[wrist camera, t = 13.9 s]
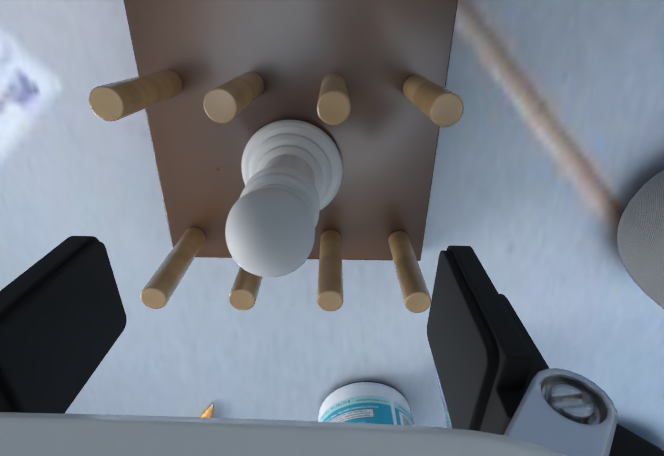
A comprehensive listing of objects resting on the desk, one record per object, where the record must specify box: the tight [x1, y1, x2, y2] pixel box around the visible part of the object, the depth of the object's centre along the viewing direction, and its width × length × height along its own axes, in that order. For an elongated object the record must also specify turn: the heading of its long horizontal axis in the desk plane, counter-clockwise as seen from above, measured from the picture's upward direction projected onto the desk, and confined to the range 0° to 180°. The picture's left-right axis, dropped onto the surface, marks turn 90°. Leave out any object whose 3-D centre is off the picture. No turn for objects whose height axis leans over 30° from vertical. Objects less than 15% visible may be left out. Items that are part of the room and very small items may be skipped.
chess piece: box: [225, 120, 343, 277], centre depth 17 cm, size 5×5×9 cm
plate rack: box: [89, 0, 464, 313], centre depth 17 cm, size 15×20×7 cm
